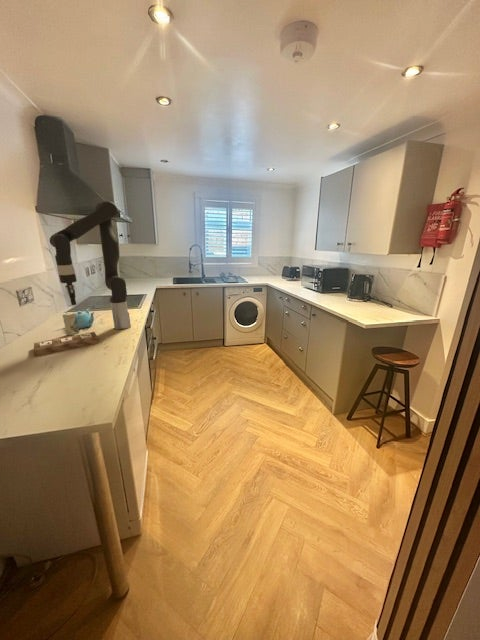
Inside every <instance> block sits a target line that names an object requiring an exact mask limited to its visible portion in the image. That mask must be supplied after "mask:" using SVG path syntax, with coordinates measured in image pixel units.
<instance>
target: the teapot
mask: <svg viewBox="0 0 480 640" xmlns="http://www.w3.org/2000/svg"><path fill="white" fill-rule="evenodd" d="M89 310H90V308H89V307H88V308H87V309H86V310H85V312H84V311H81V310H78V311H76V313H75V312H74V313H75V315H76V320H77V325H78V330H80V329H85V328H86V329H87V328H90V327H92V325H93V324H94V321H95V317H94V314H95V312H91V313H90V311H89ZM63 313H64V314H66V313H69V312H67V311H64V312H63Z"/></svg>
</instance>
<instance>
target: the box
mask: <svg viewBox="0 0 480 640" xmlns="http://www.w3.org/2000/svg"><path fill="white" fill-rule="evenodd" d="M62 318H63V323H64V329H65V333H66V335H67V336H74V335H78V334H79V333H80V331H79V330H80V329H78V325H77V320H76V315H75V312H68V313H64V314H62Z"/></svg>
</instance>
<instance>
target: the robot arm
mask: <svg viewBox="0 0 480 640" xmlns="http://www.w3.org/2000/svg"><path fill="white" fill-rule="evenodd" d="M118 212H119V211H118V206H117V205H116V204H115V203H114V202H112V201H109V200H104V201H100V202H98V203H97V204H96V205H95V210H94V211H92V212H91V213H90V214H87V215H86V216H84V217H82V218H79V219H77V220H75V221H73V222H72V223H71V224H69V225H68V226H67V227H65V228H63V229H61V230H59V231H57V232H55V233H54V234H52V235H51V236H50V237H49V243H50V245H51V247H53V248H55V255H54V258H55V263H56V268H57V269H56V270H57V273H58V276H59V277H58V278H59V283H60V284H66V285H65V289H66V293H67V295H68V298H69V300H70V303H71V305H72V306H75V305H77V302H76V298H77V297H76V287H75V285H74V283H76V282H77V276H76V270H75V268H74V264H73V259H72V256H71V254H72V250H71V242H72V241H74V240H75V241H76V240H78V239H80V238H81V237H82V236H84V235H86V234H87V233H89V231H91V230H93V229H94V228H95V227H97V226H99V236H100V242H101V243H100V244H101V245H100V246H101V251H102V258H103V265H104V275H105V276H104V283H105V287H106V289H109V290H110V291H111V296H110V298H109V301H110V308H111V313H112V319H113V320H112V321H113V326H114V329H115V330H124V329H128V328H131V327H132V325H131V316H130V312H129V310H128V304H127V303H128V302H127V297H128V294H127V293H128V292H127V290H128V289H127V284H126V280H125V279H124V278H123V277H121V276H119V273H118V262H119V259H120V246H119V241H118V238H117V236H116V234H115V232H114V229H113V223H112V222H113V221H112V219H114V218H115V217H116V216H117V215H118Z"/></svg>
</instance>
